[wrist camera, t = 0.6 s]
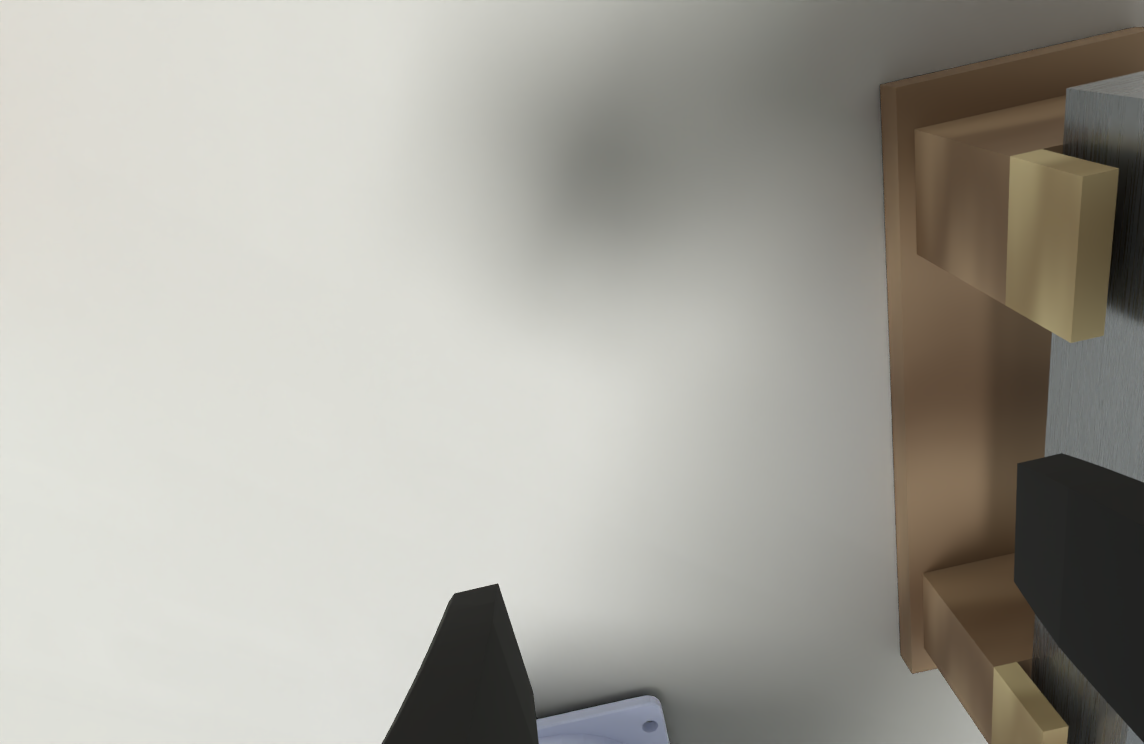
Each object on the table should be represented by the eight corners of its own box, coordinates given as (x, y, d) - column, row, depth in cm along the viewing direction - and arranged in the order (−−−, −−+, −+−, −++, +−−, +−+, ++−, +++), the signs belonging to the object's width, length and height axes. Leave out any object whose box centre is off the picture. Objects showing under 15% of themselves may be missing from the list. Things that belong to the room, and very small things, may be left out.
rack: (1080, 615, 26) (1252, 793, 20) (900, 655, 26) (1019, 844, 20) (1133, 26, 18) (1438, 35, 12) (880, 84, 18) (1062, 119, 12)
